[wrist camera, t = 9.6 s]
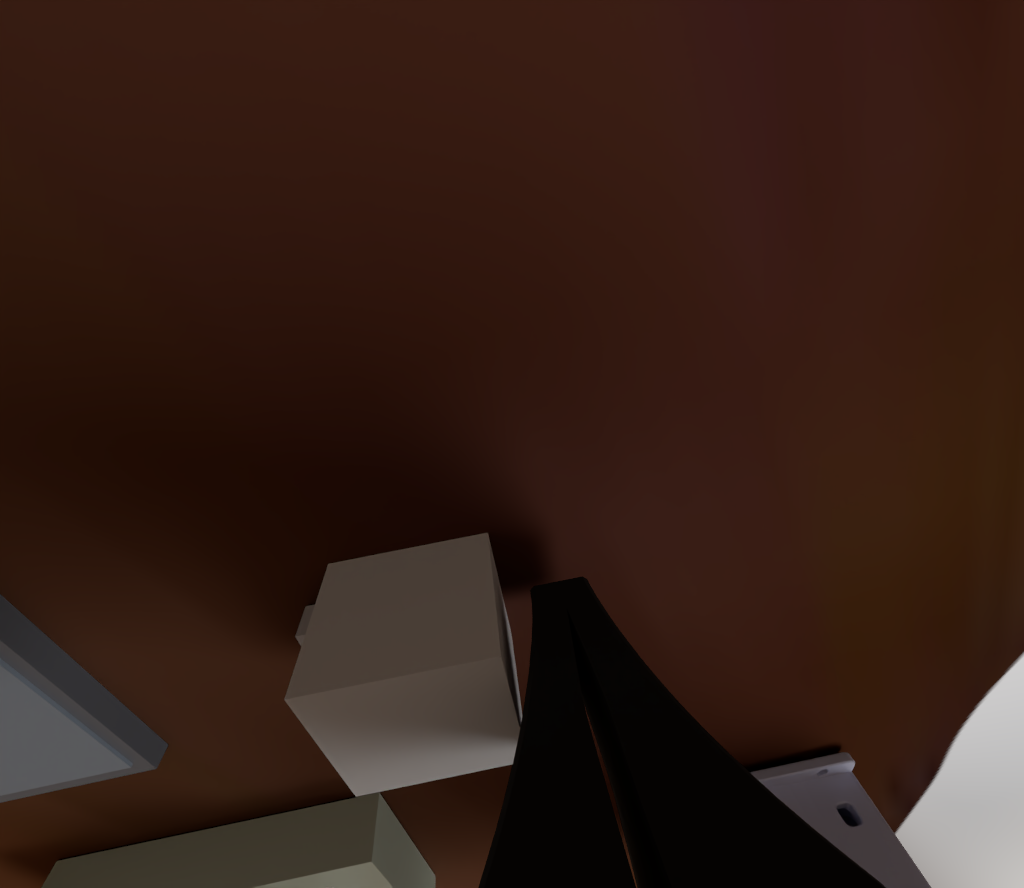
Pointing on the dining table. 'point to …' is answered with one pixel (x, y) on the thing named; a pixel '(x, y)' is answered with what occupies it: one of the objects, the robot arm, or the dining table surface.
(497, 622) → the cable plug
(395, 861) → the outlet plate
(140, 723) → the phone
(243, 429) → the dining table surface
